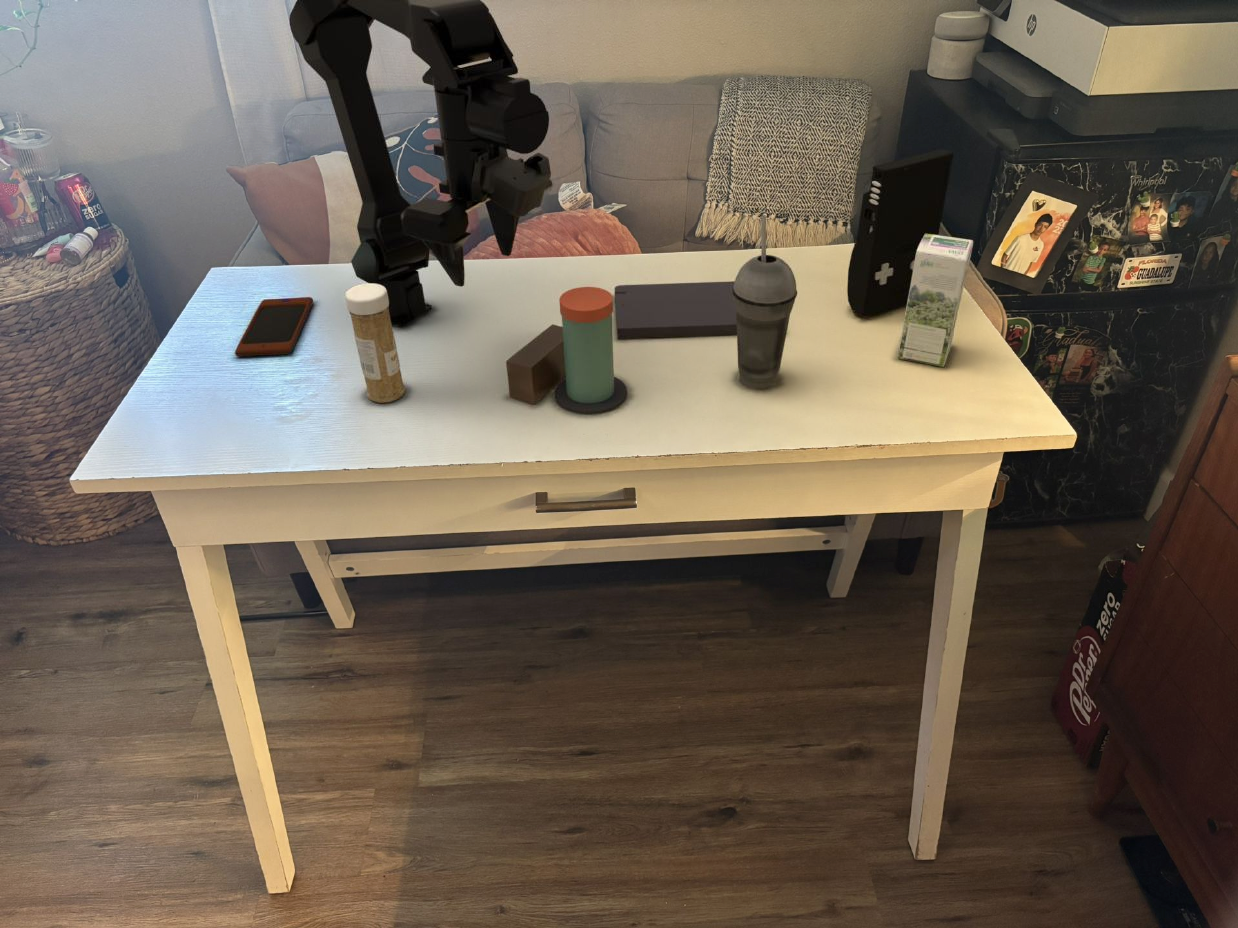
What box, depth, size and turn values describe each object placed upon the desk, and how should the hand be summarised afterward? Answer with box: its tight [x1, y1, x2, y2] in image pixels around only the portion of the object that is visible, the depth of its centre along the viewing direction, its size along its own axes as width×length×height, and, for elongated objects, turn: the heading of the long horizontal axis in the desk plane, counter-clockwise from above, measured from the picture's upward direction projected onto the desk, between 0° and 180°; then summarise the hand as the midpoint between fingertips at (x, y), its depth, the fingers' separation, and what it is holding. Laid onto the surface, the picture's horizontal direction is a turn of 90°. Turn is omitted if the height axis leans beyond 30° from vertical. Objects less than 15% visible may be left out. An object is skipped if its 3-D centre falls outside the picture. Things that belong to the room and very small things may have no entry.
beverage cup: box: [732, 214, 798, 390], centre depth 106 cm, size 7×7×20 cm
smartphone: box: [234, 296, 314, 357], centre depth 124 cm, size 7×1×15 cm
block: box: [505, 323, 566, 405], centre depth 111 cm, size 4×10×5 cm, turn 151°
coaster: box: [553, 376, 628, 415], centre depth 110 cm, size 9×9×1 cm
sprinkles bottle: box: [344, 283, 406, 404], centre depth 107 cm, size 5×5×14 cm
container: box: [558, 286, 615, 404], centre depth 106 cm, size 12×6×12 cm
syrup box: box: [897, 234, 974, 368], centre depth 111 cm, size 6×6×14 cm
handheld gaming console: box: [846, 148, 955, 318], centre depth 121 cm, size 12×5×20 cm, turn 120°
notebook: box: [614, 280, 737, 340], centre depth 125 cm, size 13×2×21 cm
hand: (483, 270), depth 108 cm, fingers open, 9 cm apart
